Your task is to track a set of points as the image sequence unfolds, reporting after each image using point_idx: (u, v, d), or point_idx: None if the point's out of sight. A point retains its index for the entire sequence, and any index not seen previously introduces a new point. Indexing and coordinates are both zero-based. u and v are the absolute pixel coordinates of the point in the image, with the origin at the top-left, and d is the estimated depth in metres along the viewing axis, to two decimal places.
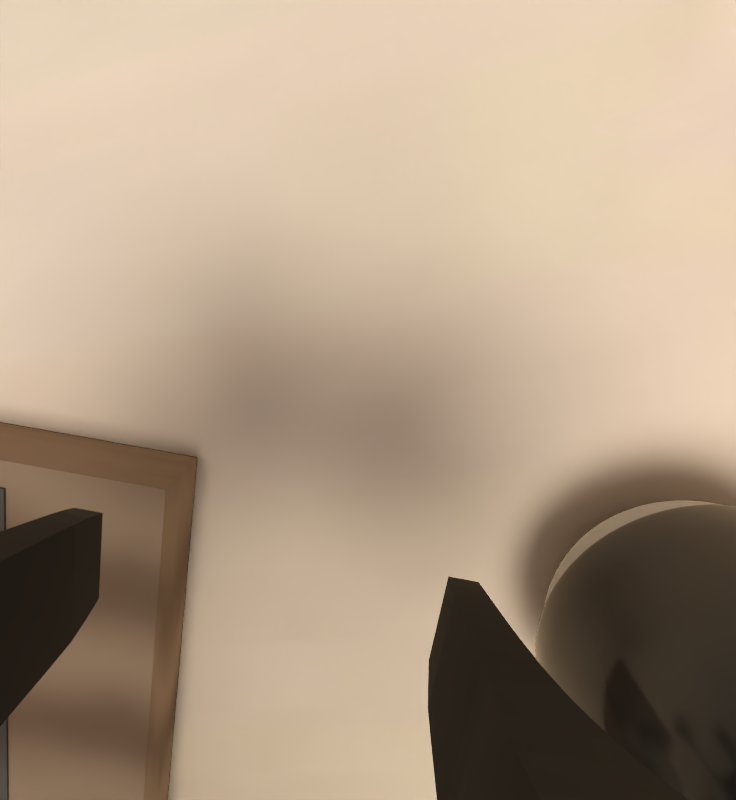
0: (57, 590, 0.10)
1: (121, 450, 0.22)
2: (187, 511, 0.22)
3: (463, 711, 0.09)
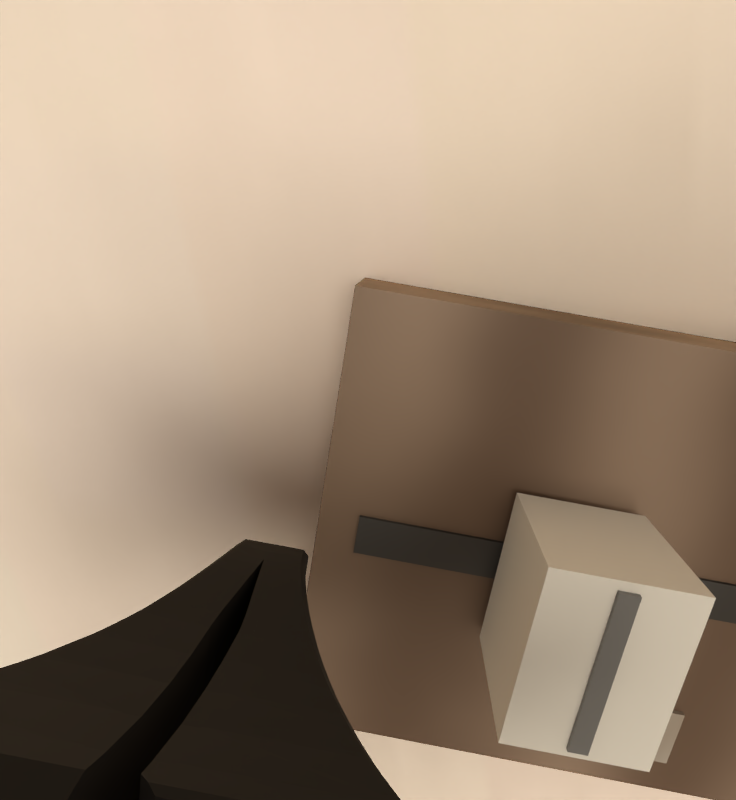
0: None
1: None
2: (438, 291, 0.15)
3: None
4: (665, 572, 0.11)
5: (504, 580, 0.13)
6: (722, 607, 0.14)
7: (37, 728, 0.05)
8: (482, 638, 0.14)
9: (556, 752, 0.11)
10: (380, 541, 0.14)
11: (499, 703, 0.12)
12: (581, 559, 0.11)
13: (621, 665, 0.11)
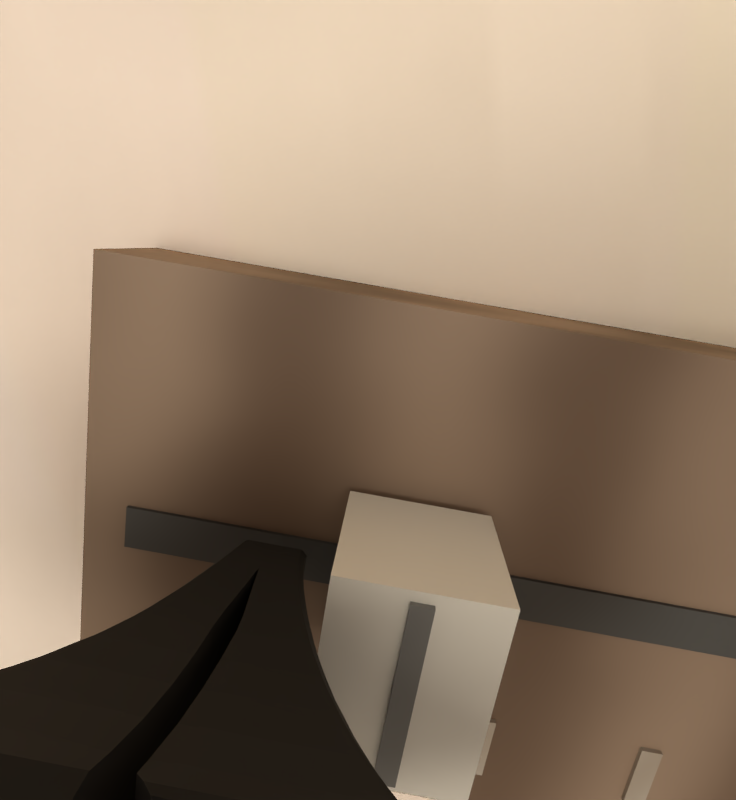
0: None
1: None
2: (226, 261, 0.14)
3: None
4: (475, 580, 0.10)
5: None
6: (526, 604, 0.13)
7: (41, 729, 0.05)
8: None
9: None
10: (153, 534, 0.13)
11: None
12: (378, 565, 0.09)
13: (422, 686, 0.09)
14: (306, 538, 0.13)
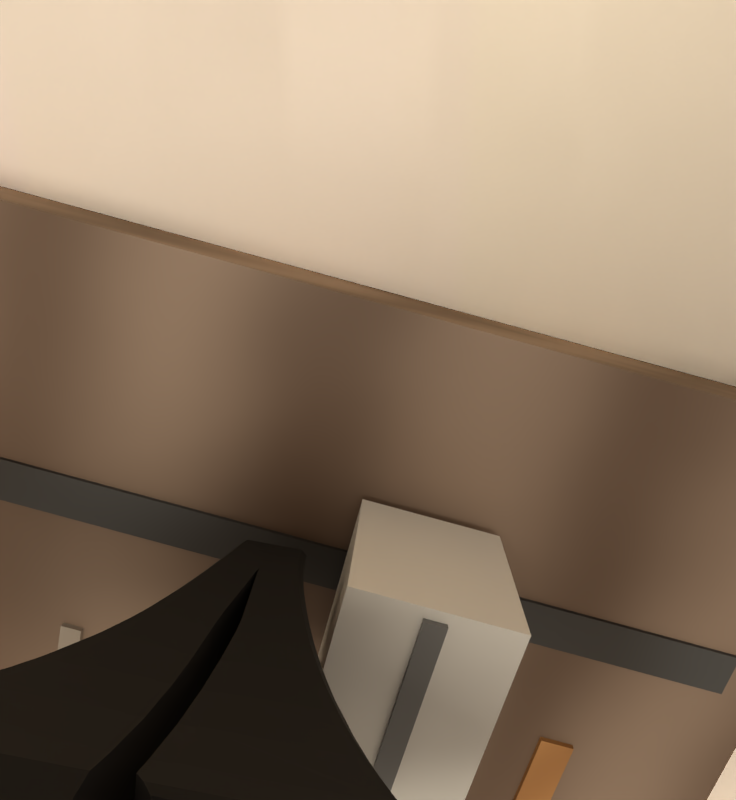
0: None
1: None
2: (12, 191, 0.14)
3: None
4: (486, 601, 0.10)
5: (337, 594, 0.12)
6: None
7: (41, 729, 0.05)
8: (318, 655, 0.13)
9: None
10: None
11: None
12: (393, 579, 0.10)
13: (426, 702, 0.10)
14: (52, 472, 0.13)
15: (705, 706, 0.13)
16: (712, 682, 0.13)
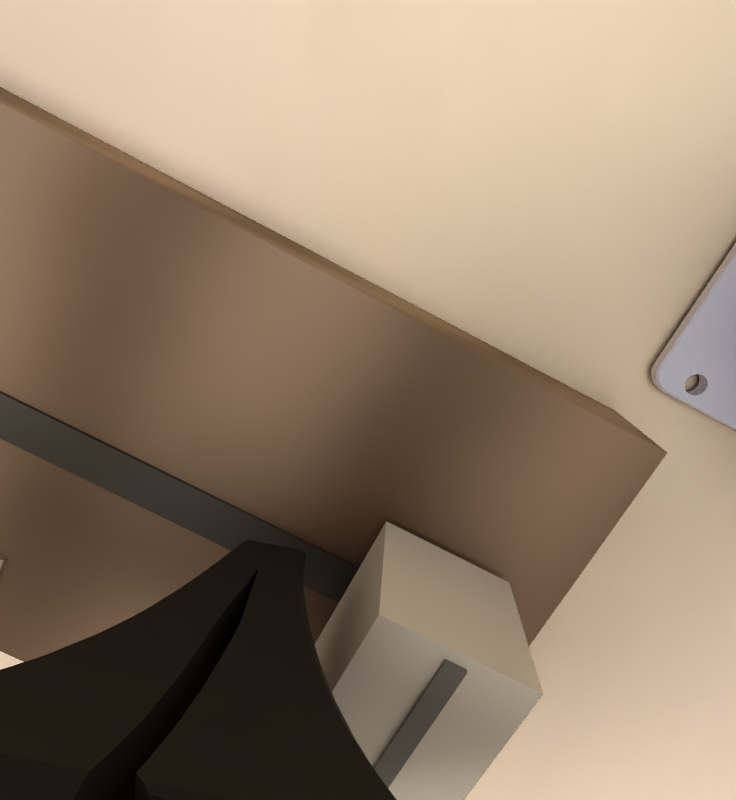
0: None
1: None
2: None
3: None
4: (502, 651, 0.10)
5: (344, 609, 0.12)
6: (47, 444, 0.13)
7: (41, 729, 0.05)
8: None
9: None
10: None
11: None
12: (418, 614, 0.10)
13: (426, 737, 0.10)
14: None
15: None
16: None
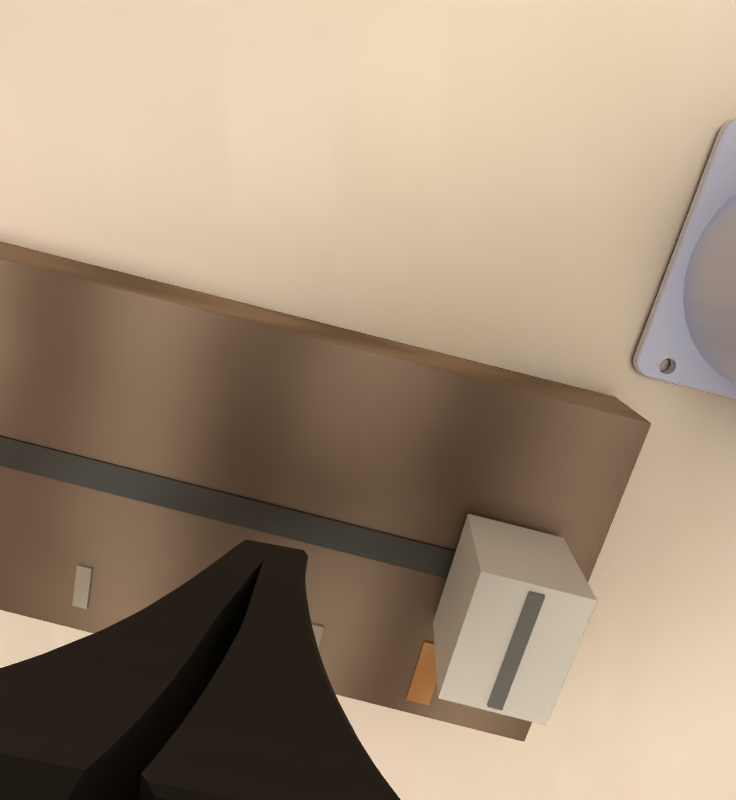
0: None
1: None
2: (36, 254, 0.19)
3: None
4: (565, 580, 0.15)
5: (453, 579, 0.17)
6: (224, 511, 0.18)
7: (37, 728, 0.05)
8: (434, 624, 0.18)
9: (479, 707, 0.15)
10: None
11: (441, 669, 0.16)
12: (505, 567, 0.15)
13: (528, 645, 0.15)
14: (70, 453, 0.18)
15: None
16: None
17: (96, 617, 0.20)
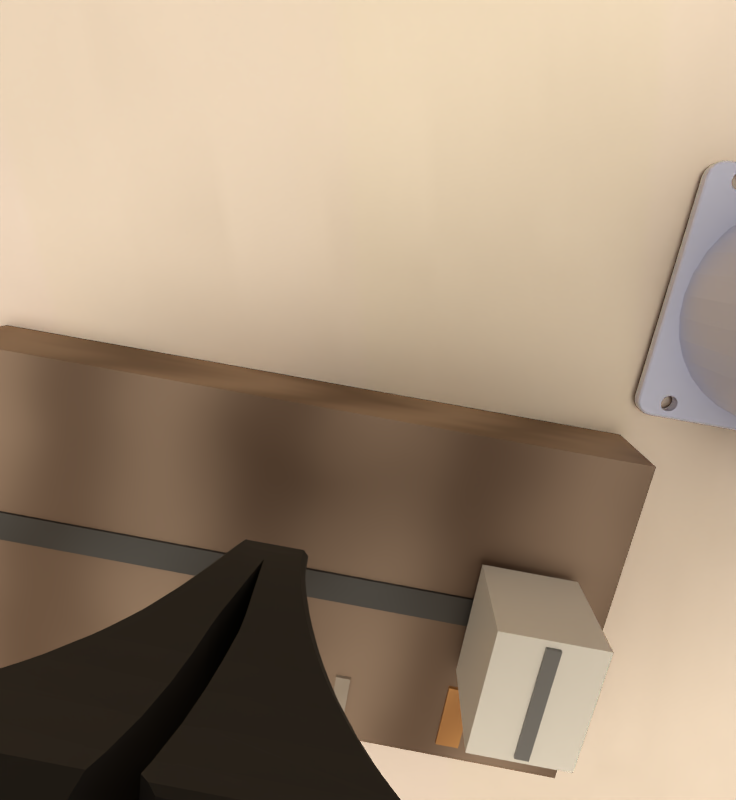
0: None
1: None
2: (50, 337, 0.20)
3: None
4: (581, 632, 0.15)
5: (472, 631, 0.18)
6: None
7: (37, 728, 0.05)
8: (457, 672, 0.19)
9: (506, 759, 0.16)
10: None
11: (466, 723, 0.16)
12: (522, 623, 0.15)
13: (550, 698, 0.15)
14: (95, 529, 0.19)
15: None
16: None
17: None
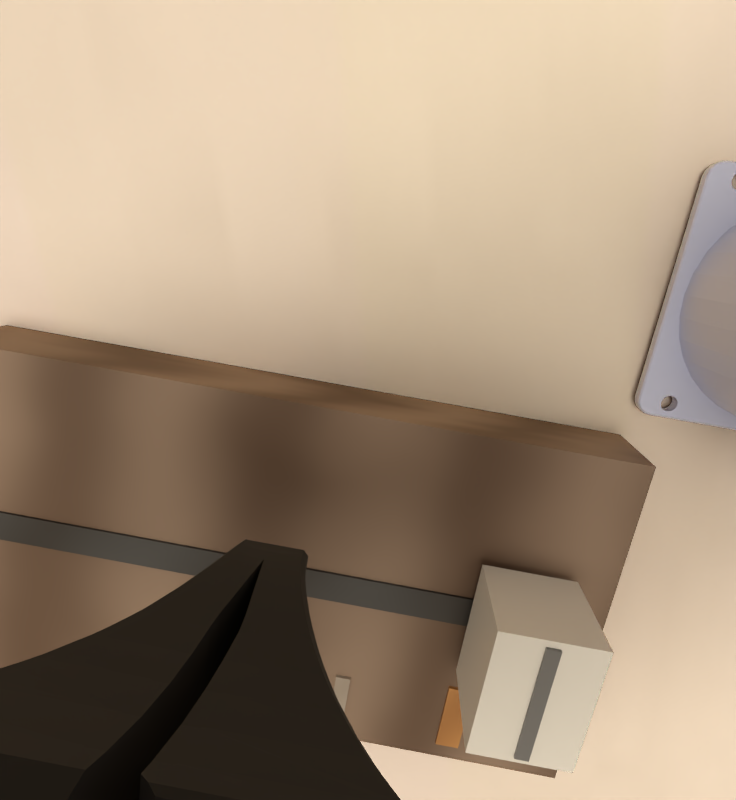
0: None
1: None
2: (50, 337, 0.20)
3: None
4: (581, 632, 0.15)
5: (472, 631, 0.18)
6: None
7: (37, 728, 0.05)
8: (457, 672, 0.19)
9: (506, 759, 0.16)
10: None
11: (466, 723, 0.16)
12: (522, 623, 0.15)
13: (550, 698, 0.15)
14: (95, 529, 0.19)
15: None
16: None
17: None
